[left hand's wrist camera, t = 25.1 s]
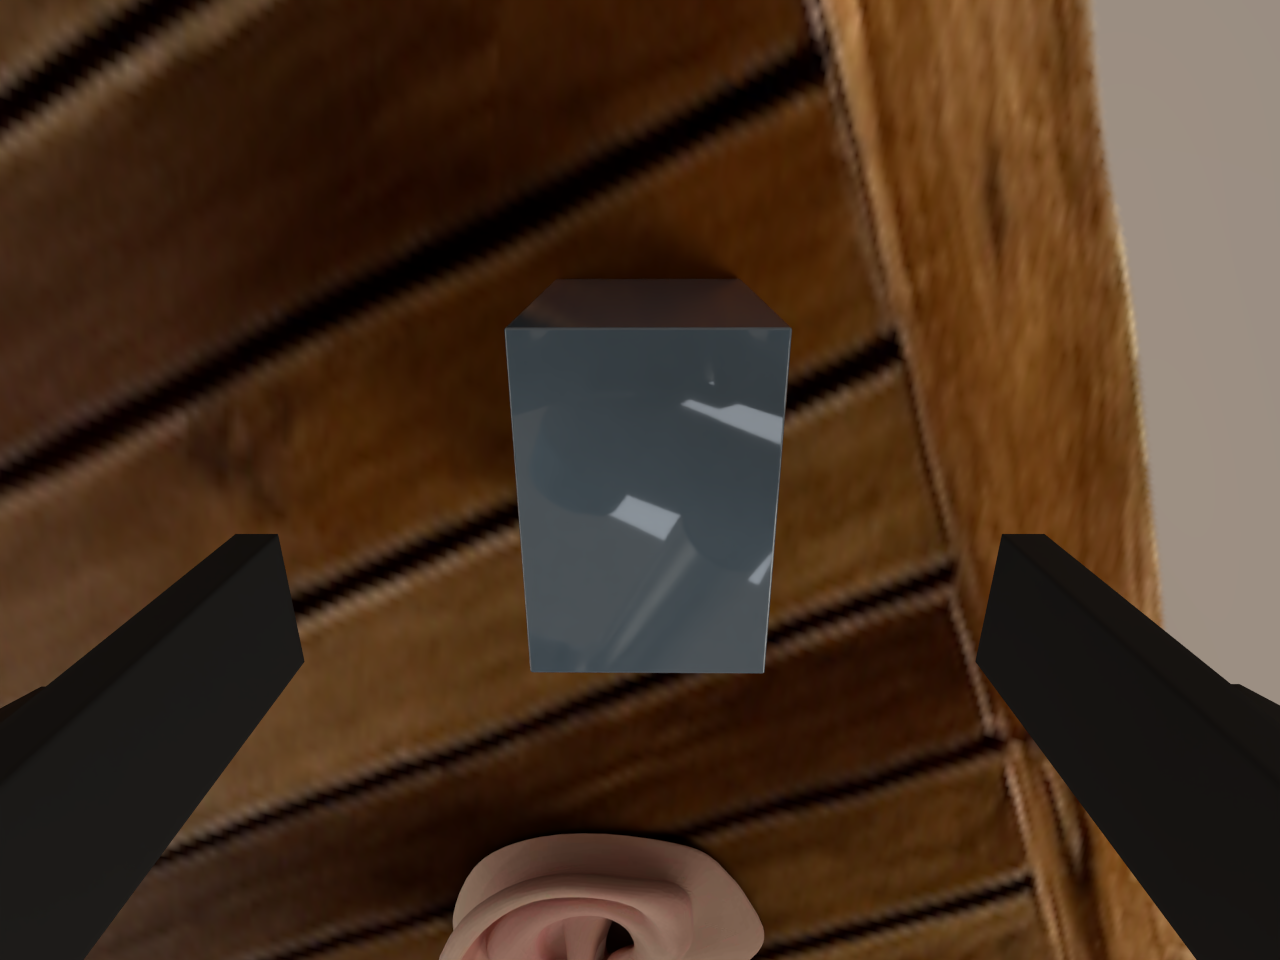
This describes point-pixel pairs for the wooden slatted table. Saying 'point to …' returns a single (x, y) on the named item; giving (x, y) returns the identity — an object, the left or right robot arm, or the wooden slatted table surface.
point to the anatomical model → (601, 903)
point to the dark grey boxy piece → (647, 472)
